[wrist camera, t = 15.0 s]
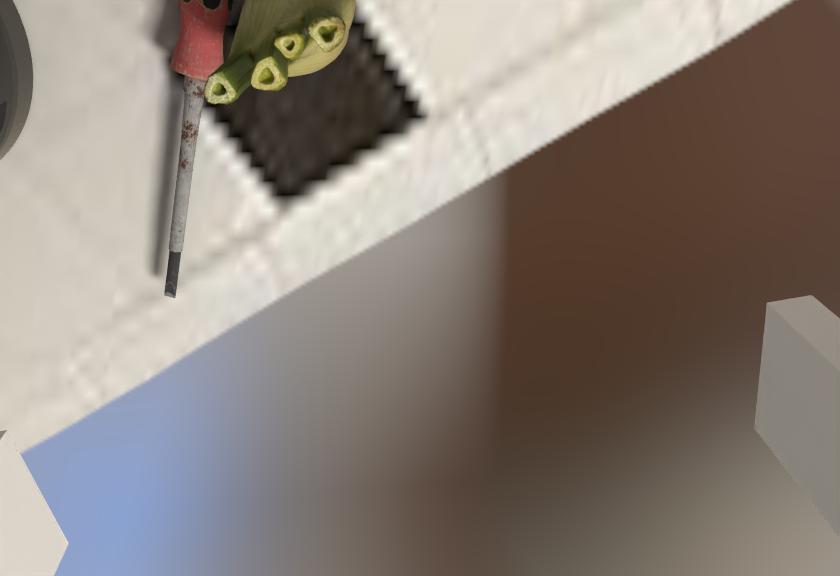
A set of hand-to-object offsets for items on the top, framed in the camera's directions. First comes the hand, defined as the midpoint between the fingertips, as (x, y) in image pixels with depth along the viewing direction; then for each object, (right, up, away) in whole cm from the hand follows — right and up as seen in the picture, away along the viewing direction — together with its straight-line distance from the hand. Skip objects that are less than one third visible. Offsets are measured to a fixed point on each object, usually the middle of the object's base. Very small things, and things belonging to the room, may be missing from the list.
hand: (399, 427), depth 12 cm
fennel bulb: (-6, +16, +24) cm, 29 cm away
